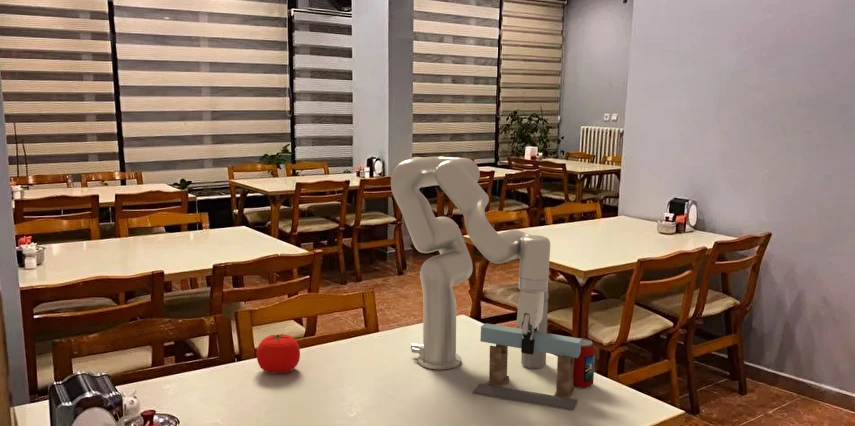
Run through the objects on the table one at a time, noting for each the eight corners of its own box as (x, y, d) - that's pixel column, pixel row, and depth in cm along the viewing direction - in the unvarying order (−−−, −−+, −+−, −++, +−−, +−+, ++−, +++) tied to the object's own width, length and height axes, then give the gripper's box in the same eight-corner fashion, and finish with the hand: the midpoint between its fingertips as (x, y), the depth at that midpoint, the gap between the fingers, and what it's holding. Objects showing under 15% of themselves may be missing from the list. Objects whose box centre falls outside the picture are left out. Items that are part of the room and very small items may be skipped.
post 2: (554, 397, 176) (555, 356, 175) (559, 387, 183) (561, 347, 181) (569, 400, 175) (571, 359, 173) (574, 389, 181) (576, 349, 180)
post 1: (486, 386, 183) (487, 346, 181) (494, 376, 190) (495, 338, 188) (501, 388, 182) (502, 348, 180) (508, 378, 188) (509, 340, 187)
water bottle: (552, 366, 197) (555, 281, 193) (532, 372, 193) (534, 285, 189) (530, 356, 205) (532, 274, 201) (510, 361, 200) (512, 278, 196)
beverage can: (593, 390, 181) (595, 347, 179) (567, 388, 182) (569, 345, 180) (592, 380, 187) (594, 338, 185) (567, 378, 189) (569, 336, 187)
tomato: (297, 361, 200) (296, 326, 199) (303, 376, 189) (302, 339, 188) (255, 365, 197) (254, 330, 195) (258, 381, 186) (257, 344, 184)
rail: (480, 341, 184) (481, 327, 184) (484, 337, 187) (485, 323, 187) (577, 358, 175) (578, 343, 174) (580, 353, 178) (581, 338, 177)
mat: (472, 393, 179) (472, 391, 179) (479, 385, 184) (479, 383, 184) (573, 410, 169) (573, 408, 169) (577, 401, 174) (577, 399, 174)
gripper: (527, 274, 187) (523, 338, 190) (510, 289, 172) (506, 359, 175) (554, 277, 184) (550, 342, 187) (539, 293, 169) (535, 364, 172)
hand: (529, 349), depth 181 cm, fingers closed on rail, 3 cm apart
